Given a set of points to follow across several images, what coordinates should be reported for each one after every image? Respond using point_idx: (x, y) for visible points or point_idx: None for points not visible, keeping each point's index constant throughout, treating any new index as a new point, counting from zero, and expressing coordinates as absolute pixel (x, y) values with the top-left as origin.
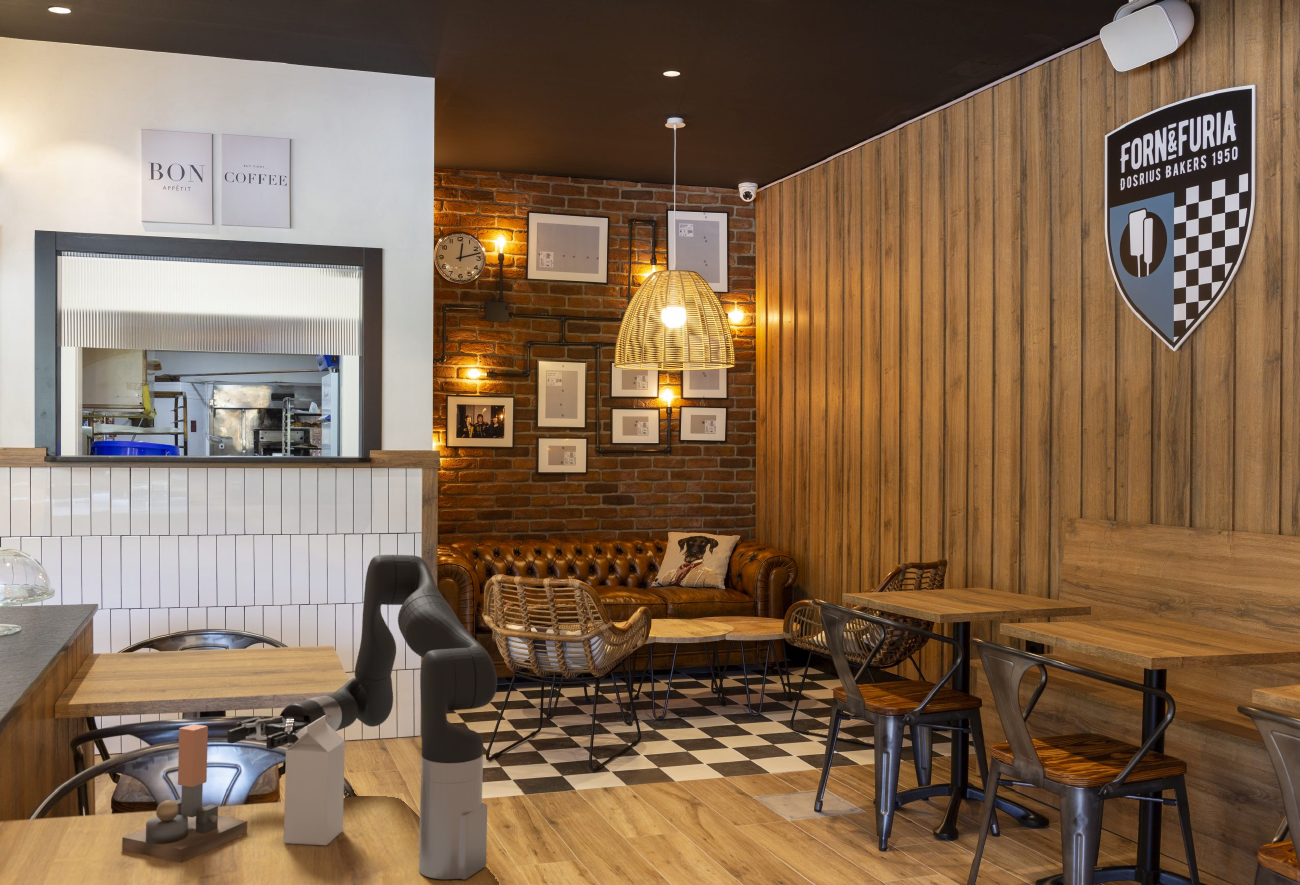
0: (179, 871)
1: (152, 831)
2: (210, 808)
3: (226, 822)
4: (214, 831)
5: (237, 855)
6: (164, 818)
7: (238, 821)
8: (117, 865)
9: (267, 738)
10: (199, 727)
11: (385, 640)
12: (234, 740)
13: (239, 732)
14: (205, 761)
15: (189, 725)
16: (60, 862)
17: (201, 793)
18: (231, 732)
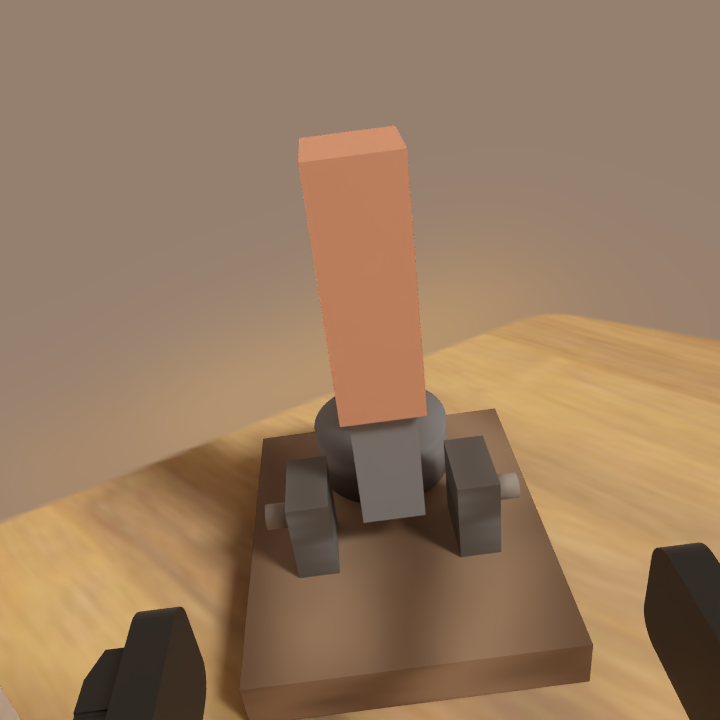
0: (232, 444)
1: None
2: (289, 485)
3: (312, 630)
4: (281, 552)
5: (145, 568)
6: None
7: (273, 665)
8: None
9: (173, 608)
10: (317, 148)
11: None
12: (669, 657)
13: (717, 680)
14: (326, 335)
15: (398, 140)
16: (535, 359)
17: (353, 451)
18: (659, 554)
